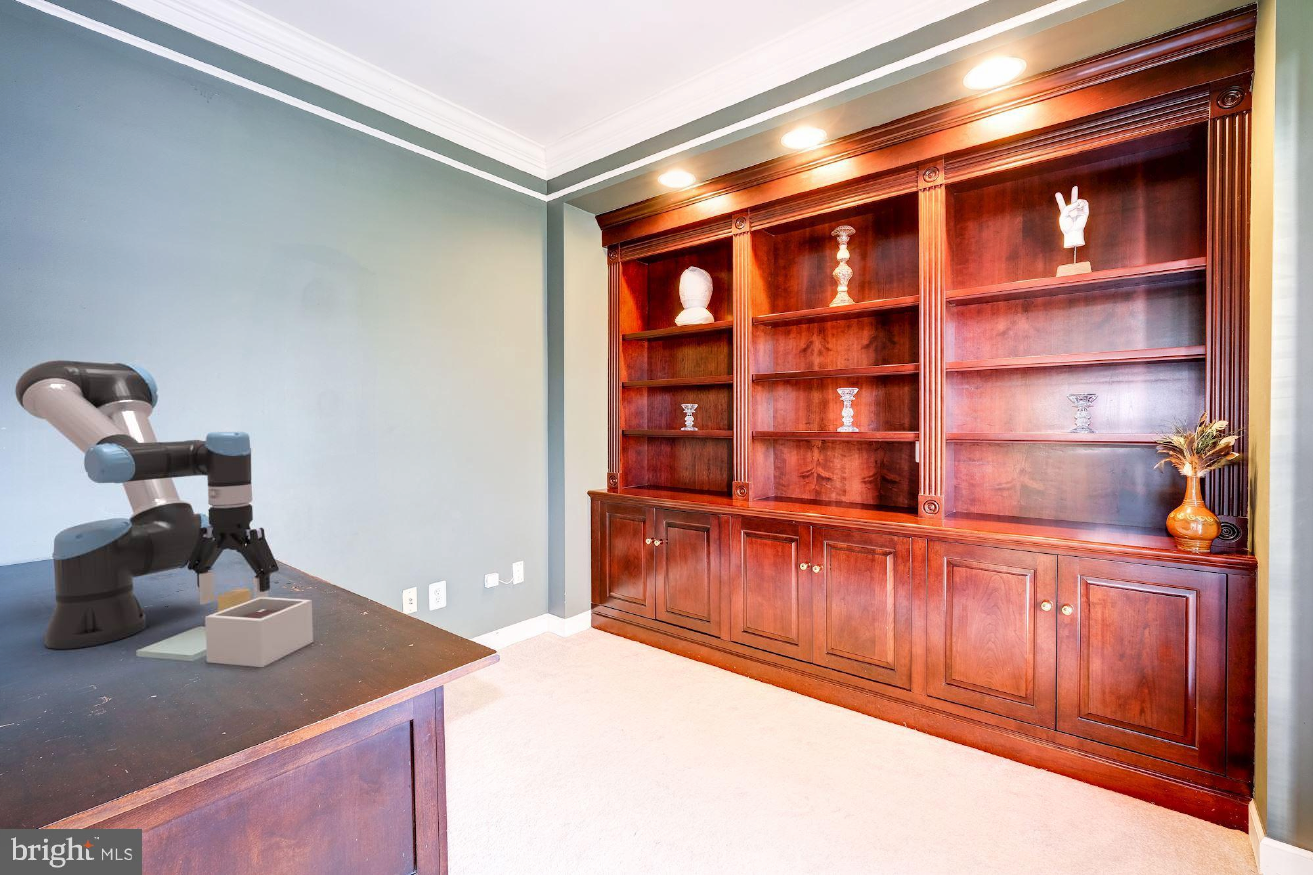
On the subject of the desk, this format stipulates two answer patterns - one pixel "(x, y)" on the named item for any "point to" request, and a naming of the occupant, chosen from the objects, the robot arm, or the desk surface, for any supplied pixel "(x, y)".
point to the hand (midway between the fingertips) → (234, 604)
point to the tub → (258, 632)
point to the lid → (192, 634)
